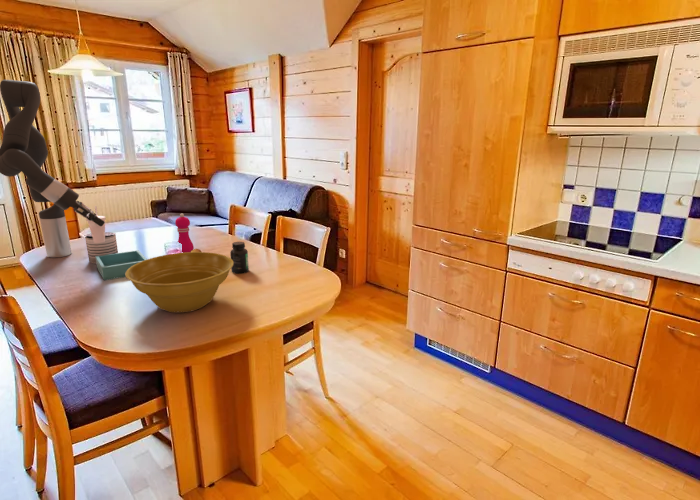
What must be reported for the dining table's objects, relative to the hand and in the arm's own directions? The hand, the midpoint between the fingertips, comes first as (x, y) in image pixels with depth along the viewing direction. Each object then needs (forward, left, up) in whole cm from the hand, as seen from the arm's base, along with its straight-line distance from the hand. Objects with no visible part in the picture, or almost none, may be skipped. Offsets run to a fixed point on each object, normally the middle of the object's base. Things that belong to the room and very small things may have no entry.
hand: (101, 222), depth 160 cm
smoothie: (0, -2, -8) cm, 8 cm away
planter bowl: (+50, +15, -20) cm, 56 cm away
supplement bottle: (+29, +43, -20) cm, 56 cm away
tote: (+1, +5, -20) cm, 21 cm away
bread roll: (+18, +29, -20) cm, 40 cm away
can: (-19, +1, -20) cm, 28 cm away
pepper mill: (-3, +31, -20) cm, 37 cm away
